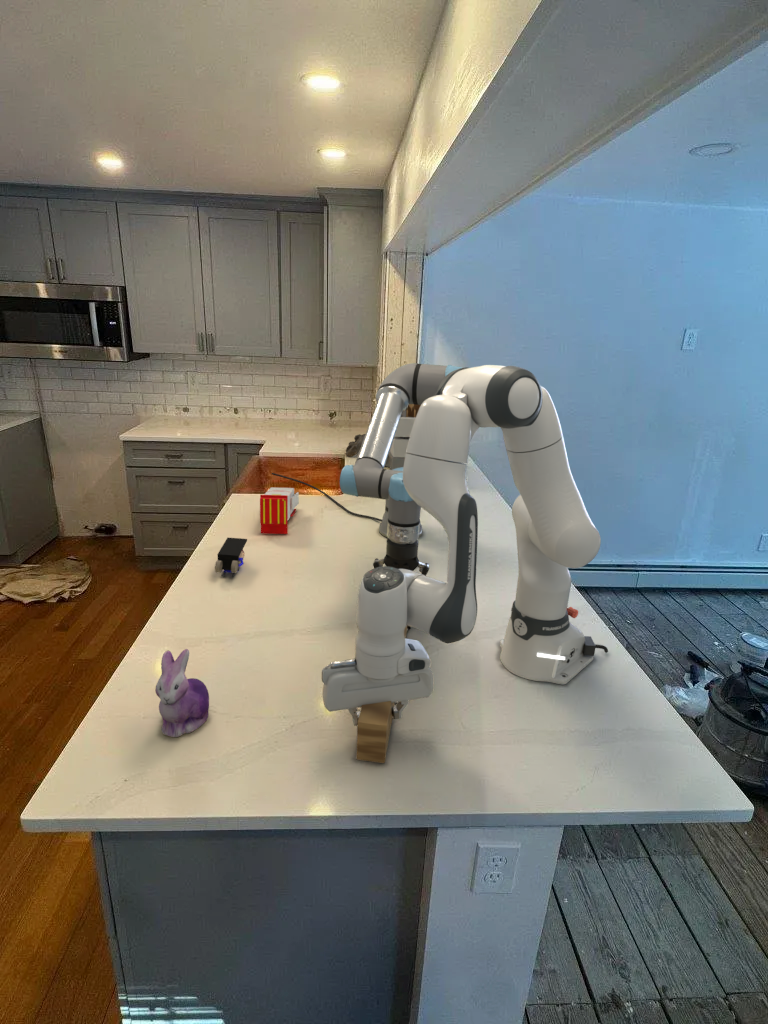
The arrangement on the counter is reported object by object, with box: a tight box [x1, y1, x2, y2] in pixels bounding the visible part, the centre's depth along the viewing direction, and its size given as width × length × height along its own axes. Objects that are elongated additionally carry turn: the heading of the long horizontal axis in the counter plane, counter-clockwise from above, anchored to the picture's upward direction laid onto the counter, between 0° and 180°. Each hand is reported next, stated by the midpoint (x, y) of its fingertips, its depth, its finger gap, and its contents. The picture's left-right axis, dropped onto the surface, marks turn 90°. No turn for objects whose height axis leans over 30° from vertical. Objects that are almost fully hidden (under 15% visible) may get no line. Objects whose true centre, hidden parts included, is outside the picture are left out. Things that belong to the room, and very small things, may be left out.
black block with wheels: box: [214, 537, 248, 578], centre depth 166 cm, size 7×8×15 cm
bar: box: [356, 626, 408, 764], centre depth 122 cm, size 53×5×8 cm, turn 173°
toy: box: [259, 487, 300, 535], centre depth 206 cm, size 12×13×30 cm
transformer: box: [385, 404, 421, 470], centre depth 268 cm, size 34×33×41 cm
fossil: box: [345, 433, 366, 458], centre depth 306 cm, size 22×10×15 cm
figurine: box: [154, 648, 210, 738], centre depth 104 cm, size 9×10×15 cm
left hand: (397, 624), depth 141 cm, fingers closed on bar, 5 cm apart
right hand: (377, 719), depth 105 cm, fingers closed on bar, 6 cm apart
